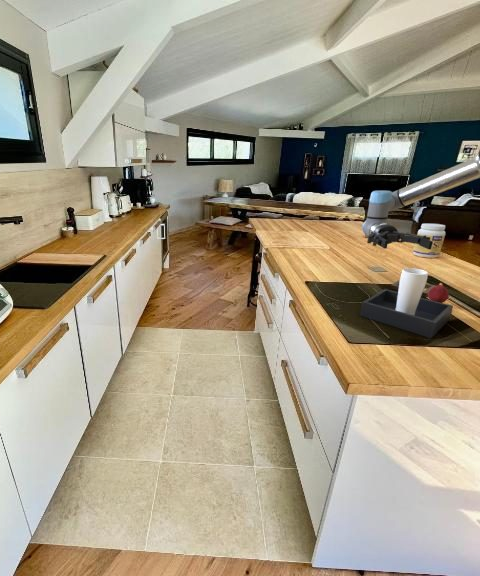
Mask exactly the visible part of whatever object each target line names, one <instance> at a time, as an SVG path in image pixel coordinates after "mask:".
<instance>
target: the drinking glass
mask: <svg viewBox="0 0 480 576" xmlns="http://www.w3.org/2000/svg"><path fill="white" fill-rule="evenodd" d="M399 277H400V278H399V280H400V282H399V289H398V290H397V292H398V296H397V304H396V309H395V310H396V311H400V312H403V313H407V314H410V315H415V311H416V309H417V306H418V303H419V301H420V298H422V296H421V295H422V293H423V291H425V289H426V288H425V285H426V284H427V281H428V277H429V272H428V271H427V270H424V269H421V268H413V267H406V268H402V271H401V275H400V276H399Z"/></svg>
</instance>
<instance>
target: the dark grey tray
mask: <svg viewBox="0 0 480 576" xmlns="http://www.w3.org/2000/svg"><path fill="white" fill-rule="evenodd" d="M397 296H398V291H396V290H392V289H386V288H384V289H383V290H380V291H379V292H377V293H376V294H374V295H372V296H370V297H368V298H367V299H365V300H363V301H362V303H361V307H360V314H359V316H360V317H362V318H367V319H370V320H373V321H376V322H379V323H380V324H381V323H382V324H385V325H387V326H391V327H394V328H397V329H399V330H400V329H401V330H404V331H407V332H410V333H413V334H416V335H420V336H422V337H426V338H429V339H432V338H433V337H435V335H436V334H438V333H439V332H440V331H441V329H442V328H443V327H444V326H445V325H446V324H447V323H448V322H449V321H450V318H451V315H452V311H453V308H454V305H452V304H448V303H445V302H443V303H440V302H436V301H432V300H430V299H429V298H428V299H427V298H425V297H421V298H420V301H419V303H418V306H417V309H416V311H415V315H410V314H407V313H403V312H400V311H396V310H395V309H396V304H397Z"/></svg>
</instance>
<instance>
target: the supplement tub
mask: <svg viewBox="0 0 480 576" xmlns="http://www.w3.org/2000/svg"><path fill="white" fill-rule="evenodd" d="M445 229H446V225H445V224H440V223H422V224H421V226H420V229H418V231H417V234H416V235H420V236H425V235H426V237H430V241H433V244H432V248H431V249H426V248H424V247H422V246H420V245H419V244H414V246H413V250H412V254H413V255H414V256H416V257H421V258H427V259H435V258H438V257H440V255H441V252H442V248H443V244H444V240H445V236H446V231H445Z"/></svg>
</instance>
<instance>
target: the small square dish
mask: <svg viewBox="0 0 480 576" xmlns="http://www.w3.org/2000/svg"><path fill="white" fill-rule="evenodd" d="M399 282H400V279H398V280H397V281H395V282H394V283H392V284H390V286H389V287H390V290H394V291H398V289H399ZM435 286H437V285H435V284H430V283H426V285H425V288H424V290H423V293H422V295H421V297H423V298H427V297H428V292H429V290H430V289H431V288H433V287H435Z"/></svg>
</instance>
